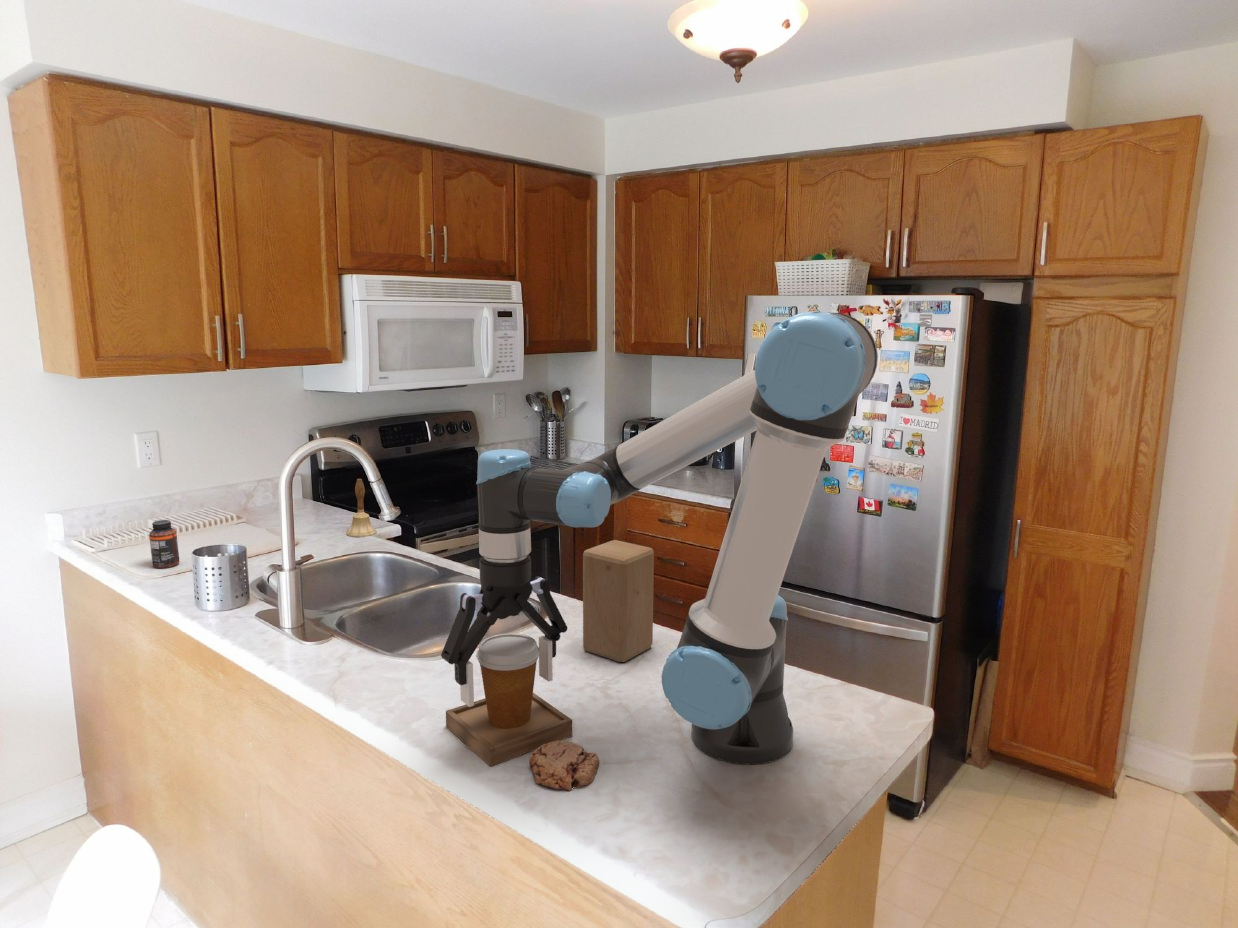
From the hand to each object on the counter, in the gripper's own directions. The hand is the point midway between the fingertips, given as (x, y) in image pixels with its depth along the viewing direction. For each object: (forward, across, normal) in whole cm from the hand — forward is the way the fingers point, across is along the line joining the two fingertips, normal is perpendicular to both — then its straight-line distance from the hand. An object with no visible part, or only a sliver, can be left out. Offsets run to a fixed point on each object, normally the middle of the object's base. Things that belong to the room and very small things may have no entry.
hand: (507, 690), depth 123 cm
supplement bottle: (+7, +27, -122) cm, 125 cm away
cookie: (+7, -1, +14) cm, 16 cm away
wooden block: (+7, -32, -14) cm, 36 cm away
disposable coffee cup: (+5, 0, 0) cm, 5 cm away
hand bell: (+7, -23, -122) cm, 125 cm away
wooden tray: (+7, 0, 0) cm, 7 cm away
